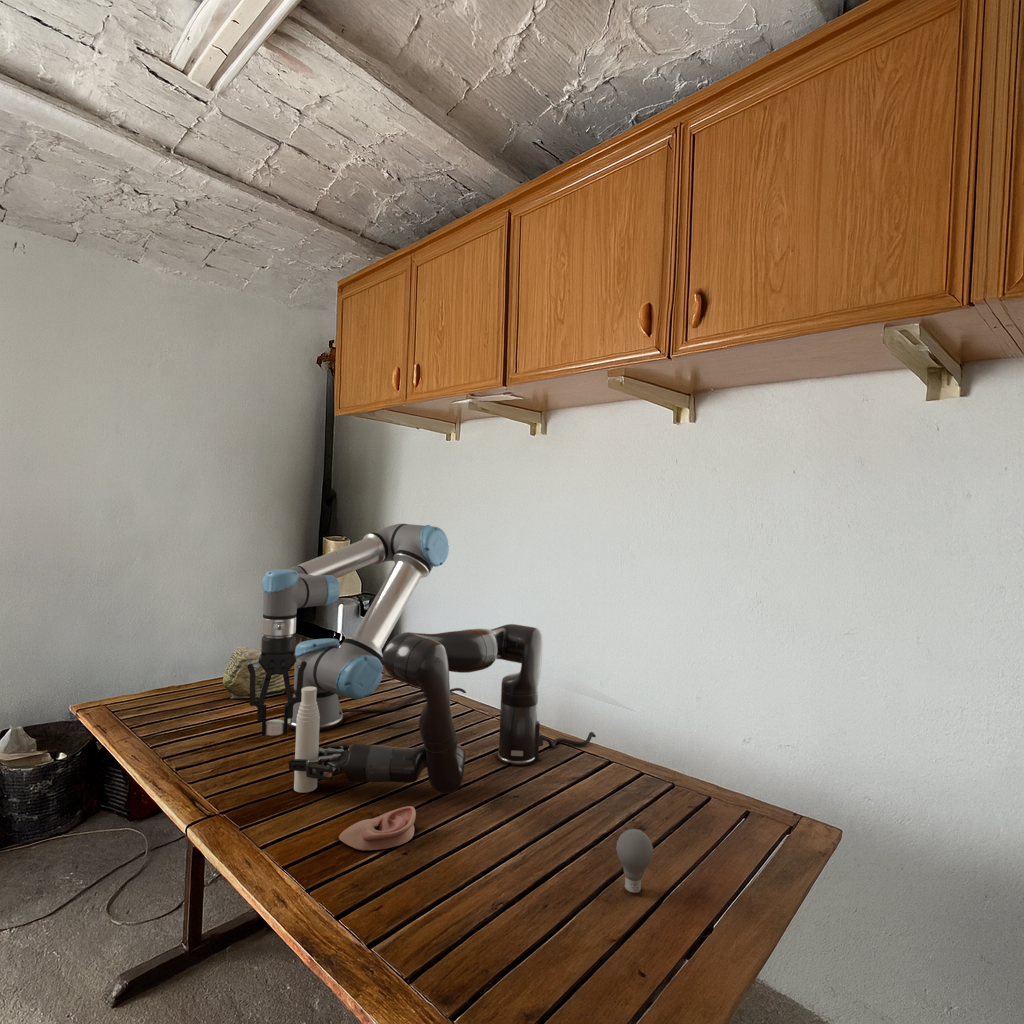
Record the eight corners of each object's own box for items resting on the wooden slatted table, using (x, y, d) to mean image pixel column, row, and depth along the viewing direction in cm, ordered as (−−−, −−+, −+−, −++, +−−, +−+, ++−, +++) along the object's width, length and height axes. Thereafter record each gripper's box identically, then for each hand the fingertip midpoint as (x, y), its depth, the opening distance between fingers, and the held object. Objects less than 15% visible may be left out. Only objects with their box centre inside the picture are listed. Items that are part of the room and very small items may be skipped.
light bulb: (610, 879, 108) (613, 822, 108) (644, 879, 109) (647, 822, 109) (619, 902, 102) (622, 840, 102) (655, 901, 103) (658, 840, 103)
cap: (264, 736, 148) (265, 726, 148) (264, 729, 152) (265, 720, 152) (284, 734, 150) (284, 724, 149) (283, 728, 154) (284, 718, 154)
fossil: (218, 695, 195) (220, 647, 195) (278, 685, 208) (279, 640, 207) (228, 703, 189) (230, 653, 188) (289, 692, 201) (290, 645, 201)
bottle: (304, 780, 141) (308, 683, 140) (321, 785, 139) (325, 687, 138) (289, 789, 136) (292, 689, 136) (306, 794, 134) (310, 693, 134)
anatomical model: (331, 824, 115) (359, 795, 126) (330, 845, 115) (358, 815, 126) (400, 835, 112) (422, 805, 124) (399, 857, 112) (421, 825, 124)
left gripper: (238, 639, 144) (234, 742, 144) (317, 637, 150) (313, 735, 151) (239, 632, 151) (235, 730, 151) (315, 630, 157) (310, 724, 157)
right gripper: (380, 733, 144) (306, 730, 145) (364, 759, 130) (282, 755, 130) (379, 766, 144) (304, 762, 145) (363, 795, 130) (280, 791, 130)
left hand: (274, 732), depth 151 cm, fingers closed on cap, 4 cm apart
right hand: (294, 759), depth 137 cm, fingers closed on bottle, 5 cm apart
